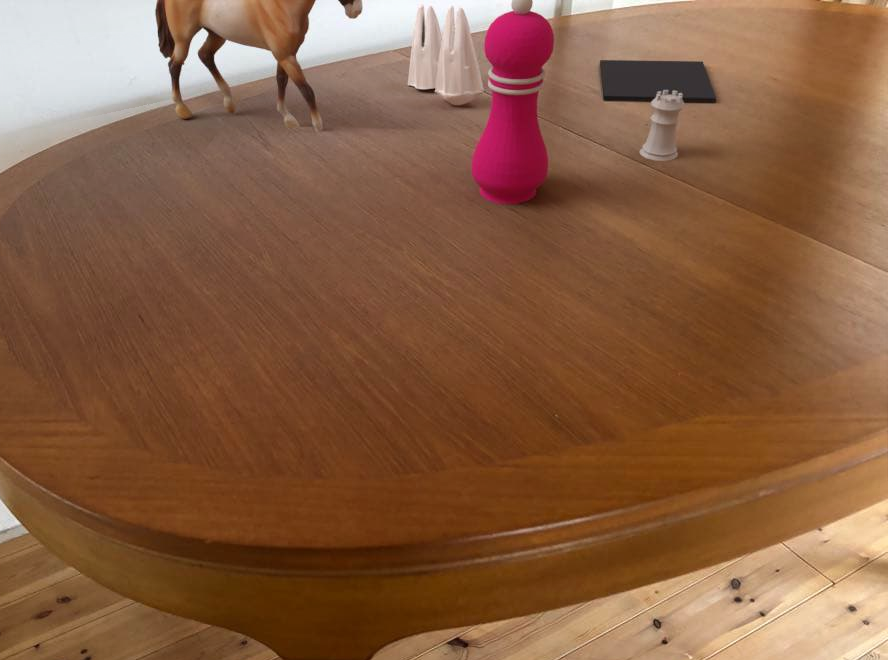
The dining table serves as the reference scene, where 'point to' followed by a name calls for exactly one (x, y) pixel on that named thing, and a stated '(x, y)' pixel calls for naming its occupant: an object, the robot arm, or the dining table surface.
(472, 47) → the shaker set
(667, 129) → the rook chess piece
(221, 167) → the dining table surface
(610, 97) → the placemat
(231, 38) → the horse figurine
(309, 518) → the dining table surface
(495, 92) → the pepper mill
